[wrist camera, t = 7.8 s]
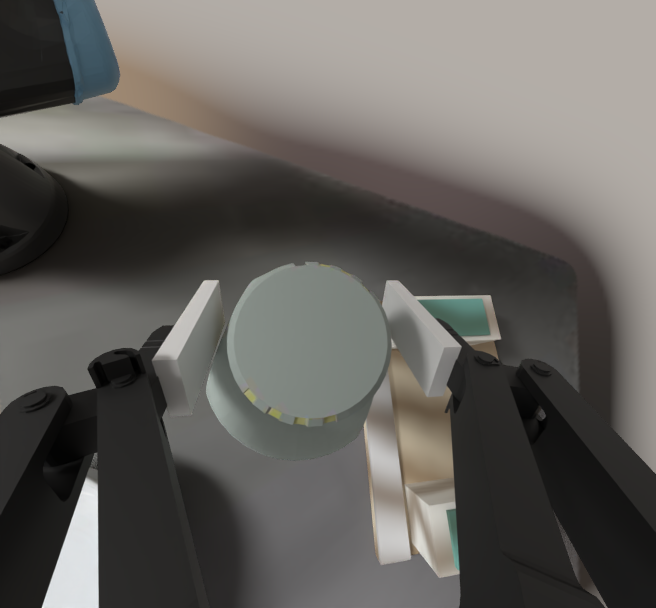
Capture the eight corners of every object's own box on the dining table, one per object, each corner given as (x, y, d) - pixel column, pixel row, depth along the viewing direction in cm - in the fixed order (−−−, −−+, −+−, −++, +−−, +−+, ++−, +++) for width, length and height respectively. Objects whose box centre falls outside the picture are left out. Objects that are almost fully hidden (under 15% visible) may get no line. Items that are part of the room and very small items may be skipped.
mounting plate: (352, 304, 33) (367, 286, 27) (479, 301, 36) (517, 285, 30) (375, 554, 26) (402, 606, 20) (531, 526, 29) (595, 564, 23)
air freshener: (332, 461, 17) (393, 559, 8) (208, 423, 16) (106, 478, 7) (371, 308, 20) (446, 243, 11) (270, 273, 20) (257, 175, 11)
